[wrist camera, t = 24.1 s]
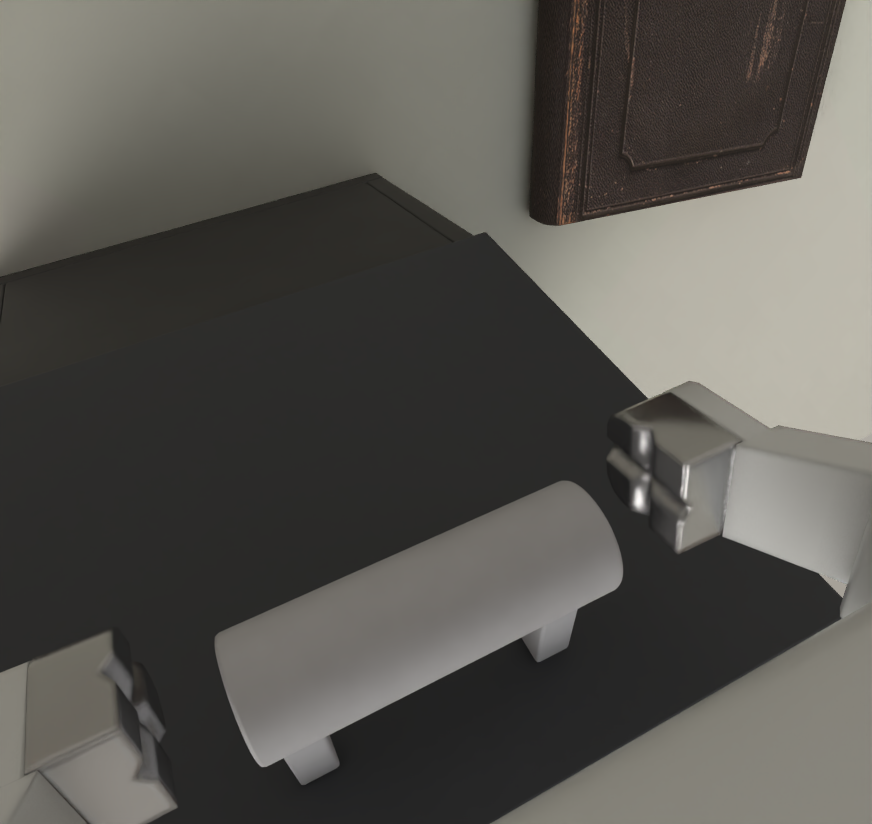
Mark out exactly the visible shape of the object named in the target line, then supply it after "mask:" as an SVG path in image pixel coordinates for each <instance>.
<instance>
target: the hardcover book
mask: <svg viewBox="0 0 872 824" xmlns="http://www.w3.org/2000/svg"><path fill="white" fill-rule="evenodd" d="M845 2H846V0H539V6H538V29H537V53H536V76H535V99H534V123H533V146H532V169H531V193H530V217H531V218H533V219H534V220H536V221H538V222H540V223H542V224H545V225H554V226H560V225H565V224H570V223H575V222H580V221H585V220H590V219H595V218H600V217H605V216H610V215H615V214H620V213H625V212H631V211H636V210H641V209H646V208H651V207H656V206H661V205H666V204H671V203H676V202H681V201H686V200H691V199H696V198H701V197H706V196H711V195H716V194H721V193H726V192H731V191H736V190H741V189H746V188H752V187H757V186H762V185H767V184H772V183H777V182H782V181H787V180H792V179H797V178H801V176H802V172H803V168H804V164H805V160H806V156H807V152H808V148H809V144H810V141H811V137H812V133H813V129H814V125H815V121H816V117H817V113H818V109H819V105H820V101H821V97H822V93H823V89H824V85H825V81H826V77H827V73H828V69H829V66H830V62H831V58H832V54H833V50H834V46H835V42H836V38H837V34H838V30H839V26H840V22H841V18H842V14H843V10H844V6H845Z"/></svg>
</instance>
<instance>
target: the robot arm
mask: <svg viewBox="0 0 872 824" xmlns="http://www.w3.org/2000/svg"><path fill="white" fill-rule="evenodd" d="M607 437H608V438H609V439H610V440H611V441H612V442H613V443H614V445H613V447H612V449H611V451H610V452H609V454H608V456H607V458H606V462H607V476H608V478H609V481H610V484H611V486H612V489H613V491H614V492H615V494H616V495H617V497H618V498H619V499H620V501H621V502H622V503H623V504H624V505H625V506H626V507H627V508H628V509H630V510H631V511H634V512H638V513H641V514H645V515H648V523H649V528H650V529H651V530H652V531H653V532H654V533H655V534H656V535H657V536H658V537H659V538H660V539H662V540H663V541H664V542H665V543H666V544H667V545H668V546H669V547H670V548H671V549H672V550H673V551H674V552H676V553H677V554H680V553H682V552H684V551H686V550H689V549H691V548H693V547H695V546H697V545H699V544H701V543H703V542H706V541H708V540H710V539H712V538H714V537H716V536H718V535H721V534H723V536H722V537H725V538H728V539H730V540H733V541H736V542H738V543H741V544H743V545H746V546H749V547H751V548H754V549H756V550H759V551H762V552H764V553H767V554H769V555H772V556H775V557H777V558H780V559H782V560H785V561H788V562H790V563H793V564H795V565H798V566H801V567H803V568H806V569H808V570H811V571H814V572H816V573H819V574H822V575H824V576H827V577H830V578H832V579H835V580H837V581H840V582H842V583H845V584H847V587H846V590H845V593H844V596H843V599H842V602H841V605H840V617H841V618H842V619H840V620H839V621H837V622H835V623H833V624H832V625H830V626H828V627H827V628H825V629H823V630H821V631H820V632H818V633H816V634H815V635H813V636H811V637H809V638H808V639H806V640H804V641H803V642H801V643H799V644H797V645H796V646H794V647H792V648H791V649H789V650H787V651H785V652H784V653H782V654H780V655H779V656H777V657H775V658H773V659H772V660H770V661H768V662H766V663H765V664H763V665H761V666H760V667H758V668H756V669H754V670H753V671H751V672H749V673H748V674H746V675H744V676H742V677H741V678H739V679H737V680H736V681H734V682H732V683H730V684H729V685H727V686H725V687H724V688H722V689H720V690H718V691H717V692H715V693H713V694H712V695H710V696H708V697H706V698H705V699H703V700H701V701H700V702H698V703H696V704H694V705H693V706H691V707H689V708H687V709H686V710H684V711H682V712H681V713H679V714H677V715H675V716H674V717H672V718H670V719H669V720H667V721H665V722H663V723H662V724H660V725H658V726H657V727H655V728H653V729H651V730H650V731H648V732H646V733H645V734H643V735H641V736H639V737H638V738H636V739H634V740H633V741H631V742H629V743H627V744H626V745H624V746H622V747H621V748H619V749H617V750H615V751H614V752H612V753H610V754H609V755H607V756H605V757H603V758H602V759H600V760H598V761H597V762H595V763H593V764H591V765H590V766H588V767H586V768H585V769H583V770H581V771H579V772H578V773H576V774H574V775H573V776H571V777H569V778H567V779H566V780H564V781H562V782H561V783H559V784H557V785H555V786H554V787H552V788H550V789H549V790H547V791H545V792H543V793H542V794H540V795H538V796H537V797H535V798H533V799H531V800H530V801H528V802H526V803H525V804H523V805H521V806H519V807H518V808H516V809H514V810H513V811H511V812H509V813H507V814H506V815H504V816H502V817H501V818H499V819H497V820H495V821H494V822H492V823H490V824H872V443H870V442H865V441H859V440H854V439H849V438H843V437H838V436H832V435H827V434H822V433H816V432H811V431H805V430H800V429H795V428H789V427H784V426H779V425H778V426H776V427H774V428H771V429H770V428H769V427H767V426H766V425H764V424H762V423H761V422H759V421H758V420H756V419H755V418H753V417H752V416H750V415H748V414H747V413H745V412H744V411H742V410H741V409H739V408H737V407H736V406H734V405H733V404H731V403H730V402H728V401H726V400H725V399H723V398H722V397H720V396H719V395H717V394H715V393H714V392H712V391H711V390H709V389H708V388H706V387H705V386H703V385H701V384H700V383H697V382H692V381H688V382H686V383H683V384H681V385H679V386H677V387H674V388H672V389H670V390H667V391H665V392H663V393H662V394H659V395H656V396H654V397H652V398H650V399H647V400H645V401H643V402H640V403H638V404H636V405H633V406H631V407H629V408H627V409H624V410H622V411H620V412H617V413H615V414H613V415H611V416H610V419H609V421H608V423H607ZM165 732H166V726H165V720H164V714H163V709H162V706H161V703H160V699H159V696H158V693H157V690H156V687H155V685H154V683H153V681H152V679H151V677H150V675H149V673H148V671H147V670H146V668H145V667H144V665H143V664H142V663H139V662H135V661H132V660H131V653H130V645H129V642H128V641H127V639H126V638H125V636H124V635H123V633H122V632H121V631H120V629H119V628H117V627H111V628H109V629H106V630H104V631H101V632H99V633H96V634H94V635H91V636H89V637H86V638H84V639H81V640H79V641H76V642H74V643H71V644H69V645H66V646H64V647H61V648H59V649H56V650H54V651H51V652H49V653H46V654H44V655H41V656H39V657H36V658H33V659H32V660H31V661H29V662H26V663H24V664H21V665H18V666H16V667H13V668H11V669H8V670H6V671H3V672H1V673H0V824H148V823H149V822H151V821H153V820H155V819H157V818H159V817H161V816H162V815H164V814H166V813H168V812H170V811H172V810H174V809H176V808H177V807H178V806H177V799H176V792H175V785H174V778H173V772H172V765H171V760H170V758H169V757H168V755H167V754H166V752H165V751H164V749H163V748H162V746H161V745H160V742H161V740H162V738H163V736H164V734H165Z"/></svg>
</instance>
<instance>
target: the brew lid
mask: <svg viewBox="0 0 872 824" xmlns="http://www.w3.org/2000/svg"><path fill="white" fill-rule="evenodd" d="M647 399H648V398H647V397H646V396H645V395H644V394H643V393H642V392H641V391H640V390H639V389H638V388H637V387H636V386H635V385H634V384H633V383H632V382H631V381H630V380H629V379H628V378H627V377H626V376H625V375H624V374H623V373H622V372H621V371H620V370H619V369H618V367H617V366H616V365H615V364H614V363H613V362H612V361H611V360H610V359H609V358H608V357H607V356H606V355H605V354H604V353H603V352H602V351H601V350H600V349H599V348H598V347H597V346H596V345H595V344H594V343H593V342H592V341H591V340H590V339H589V338H588V337H587V336H586V335H585V334H584V333H583V332H582V331H581V330H580V329H579V328H578V326H577V325H576V324H575V323H574V322H573V321H572V320H571V319H570V318H569V317H568V316H567V315H566V314H565V313H564V312H563V311H562V310H561V309H560V308H559V307H558V306H557V305H556V304H555V303H554V302H553V301H552V300H551V299H550V298H549V297H548V296H547V295H546V294H545V293H544V292H543V291H542V290H541V289H540V288H539V286H538V285H537V284H536V283H535V282H534V281H533V280H532V279H531V278H530V277H529V276H528V275H527V274H526V273H525V272H524V271H523V270H522V269H521V268H520V267H519V266H518V265H517V264H516V263H515V262H514V261H513V260H512V259H511V258H510V257H509V256H508V255H507V254H506V253H505V252H504V251H503V250H502V249H501V248H500V246H499V245H498V244H497V243H496V242H495V241H494V240H493V239H492V238H491V237H490V236H489V235H488V234H487V233H481V234H478V235H475V236H471V237H468V238H465V239H462V240H459V241H456V242H453V243H449V244H446V245H443V246H440V247H437V248H434V249H431V250H427V251H424V252H421V253H418V254H415V255H412V256H409V257H405V258H402V259H399V260H396V261H393V262H390V263H387V264H383V265H380V266H377V267H374V268H371V269H368V270H365V271H361V272H358V273H355V274H352V275H349V276H346V277H343V278H339V279H336V280H333V281H330V282H327V283H324V284H321V285H317V286H314V287H311V288H308V289H305V290H302V291H299V292H295V293H292V294H289V295H286V296H283V297H280V298H277V299H273V300H270V301H267V302H264V303H261V304H258V305H255V306H251V307H248V308H245V309H242V310H239V311H236V312H233V313H229V314H226V315H223V316H220V317H217V318H214V319H211V320H207V321H204V322H201V323H198V324H195V325H192V326H189V327H185V328H182V329H179V330H176V331H173V332H170V333H167V334H163V335H160V336H157V337H154V338H151V339H148V340H145V341H141V342H138V343H135V344H132V345H129V346H126V347H123V348H119V349H116V350H113V351H110V352H107V353H104V354H101V355H97V356H94V357H91V358H88V359H85V360H82V361H79V362H75V363H72V364H69V365H66V366H63V367H60V368H57V369H53V370H50V371H47V372H44V373H41V374H38V375H35V376H31V377H28V378H25V379H22V380H19V381H16V382H13V383H9V384H6V385H3V386H0V673H1V672H3V671H6V670H8V669H11V668H13V667H16V666H18V665H21V664H24V663H26V662H29V661H31V660H32V659H33V658H36V657H39V656H41V655H44V654H46V653H49V652H51V651H54V650H56V649H59V648H61V647H64V646H66V645H69V644H71V643H74V642H76V641H79V640H81V639H84V638H86V637H89V636H91V635H94V634H96V633H99V632H101V631H104V630H106V629H109V628H111V627H117V628H119V629H120V631H121V632H122V633H123V635H124V636H125V638H126V639H127V641H128V642H129V645H130V653H131V660H132V661H135V662H139V663H142V664H143V665H144V667H145V668H146V670H147V671H148V673H149V675H150V677H151V679H152V681H153V683H154V685H155V687H156V690H157V693H158V696H159V699H160V703H161V706H162V709H163V714H164V720H165V726H166V732H165V734H164V736H163V738H162V740H161V742H160V745H161V746H162V748H163V749H164V751H165V752H166V754H167V755H168V757H169V758H170V760H171V765H172V772H173V778H174V785H175V792H176V799H177V806H178V807H177V808H176V809H174V810H172V811H170V812H168V813H166V814H164V815H162V816H161V817H159V818H157V819H155V820H153V821H151V822H149V823H148V824H490V823H492V822H494V821H495V820H497V819H499V818H501V817H502V816H504V815H506V814H507V813H509V812H511V811H513V810H514V809H516V808H518V807H519V806H521V805H523V804H525V803H526V802H528V801H530V800H531V799H533V798H535V797H537V796H538V795H540V794H542V793H543V792H545V791H547V790H549V789H550V788H552V787H554V786H555V785H557V784H559V783H561V782H562V781H564V780H566V779H567V778H569V777H571V776H573V775H574V774H576V773H578V772H579V771H581V770H583V769H585V768H586V767H588V766H590V765H591V764H593V763H595V762H597V761H598V760H600V759H602V758H603V757H605V756H607V755H609V754H610V753H612V752H614V751H615V750H617V749H619V748H621V747H622V746H624V745H626V744H627V743H629V742H631V741H633V740H634V739H636V738H638V737H639V736H641V735H643V734H645V733H646V732H648V731H650V730H651V729H653V728H655V727H657V726H658V725H660V724H662V723H663V722H665V721H667V720H669V719H670V718H672V717H674V716H675V715H677V714H679V713H681V712H682V711H684V710H686V709H687V708H689V707H691V706H693V705H694V704H696V703H698V702H700V701H701V700H703V699H705V698H706V697H708V696H710V695H712V694H713V693H715V692H717V691H718V690H720V689H722V688H724V687H725V686H727V685H729V684H730V683H732V682H734V681H736V680H737V679H739V678H741V677H742V676H744V675H746V674H748V673H749V672H751V671H753V670H754V669H756V668H758V667H760V666H761V665H763V664H765V663H766V662H768V661H770V660H772V659H773V658H775V657H777V656H779V655H780V654H782V653H784V652H785V651H787V650H789V649H791V648H792V647H794V646H796V645H797V644H799V643H801V642H803V641H804V640H806V639H808V638H809V637H811V636H813V635H815V634H816V633H818V632H820V631H821V630H823V629H825V628H827V627H828V626H830V625H832V624H833V623H835V622H837V621H839V620H840V619H842V618H841V617H840V605H841V602H842V599H843V598H842V597H841V596H840V595H839V594H838V593H837V592H836V591H835V590H834V589H833V588H832V587H831V586H830V585H829V584H828V583H827V582H826V581H825V580H824V579H823V578H822V577H821V576H820V575H819V574H818V573H816V572H814V571H811V570H808V569H806V568H803V567H801V566H798V565H795V564H793V563H790V562H788V561H785V560H782V559H780V558H777V557H775V556H772V555H769V554H767V553H764V552H762V551H759V550H756V549H754V548H751V547H749V546H746V545H743V544H741V543H738V542H736V541H733V540H730V539H728V538H725V537H722V536H723V534H721V535H718V536H716V537H714V538H712V539H710V540H708V541H706V542H703V543H701V544H699V545H697V546H695V547H693V548H691V549H689V550H686V551H684V552H682V553H680V554H677V553H676V552H674V551H673V550H672V549H671V548H670V547H669V546H668V545H667V544H666V543H665V542H664V541H663V540H662V539H660V538H659V537H658V536H657V535H656V534H655V533H654V532H653V531H652V530H651V529H650V528H649V523H648V515H645V514H641V513H638V512H634V511H631V510H630V509H628V508H627V507H626V506H625V505H624V504H623V503H622V502H621V501H620V499H619V498H618V497H617V495H616V494H615V492H614V491H613V489H612V486H611V484H610V481H609V478H608V476H607V462H606V458H607V456H608V454H609V452H610V451H611V449H612V447H613V445H614V443H613V442H612V441H611V440H610V439H609V438H608V437H607V423H608V421H609V419H610V416H611V415H613V414H615V413H617V412H620V411H622V410H624V409H627V408H629V407H631V406H633V405H636V404H638V403H640V402H643V401H645V400H647Z"/></svg>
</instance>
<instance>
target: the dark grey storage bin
mask: <svg viewBox="0 0 872 824" xmlns="http://www.w3.org/2000/svg"><path fill="white" fill-rule="evenodd" d="M471 236H473V235H472V234H470V233H469V232H467V231H466V230H464V229H462V228H461V227H459V226H458V225H456V224H455V223H453V222H451V221H450V220H448V219H447V218H445V217H444V216H442V215H441V214H439V213H437V212H436V211H434V210H433V209H431V208H430V207H428V206H426V205H425V204H423V203H422V202H420V201H419V200H417V199H415V198H414V197H412V196H411V195H409V194H408V193H406V192H405V191H403V190H401V189H400V188H398V187H397V186H395V185H394V184H392V183H390V182H389V181H387V180H386V179H384V178H382V176H380V175H378V174H377V173H373V174H370V175H366V176H363V177H359V178H355V179H352V180H348V181H345V182H341V183H337V184H334V185H330V186H327V187H323V188H319V189H316V190H312V191H309V192H305V193H301V194H298V195H294V196H291V197H287V198H283V199H280V200H276V201H273V202H269V203H265V204H262V205H258V206H255V207H251V208H247V209H244V210H240V211H237V212H233V213H229V214H226V215H222V216H219V217H215V218H211V219H208V220H204V221H201V222H197V223H193V224H190V225H186V226H183V227H179V228H175V229H172V230H168V231H165V232H161V233H157V234H154V235H150V236H147V237H143V238H139V239H136V240H132V241H129V242H125V243H122V244H118V245H114V246H111V247H107V248H104V249H100V250H96V251H93V252H89V253H86V254H82V255H78V256H75V257H71V258H68V259H64V260H60V261H57V262H53V263H50V264H46V265H42V266H39V267H35V268H32V269H28V270H24V271H21V272H17V273H14V274H10V275H6V276H3V277H0V386H3V385H6V384H9V383H13V382H16V381H19V380H22V379H25V378H28V377H31V376H35V375H38V374H41V373H44V372H47V371H50V370H53V369H57V368H60V367H63V366H66V365H69V364H72V363H75V362H79V361H82V360H85V359H88V358H91V357H94V356H97V355H101V354H104V353H107V352H110V351H113V350H116V349H119V348H123V347H126V346H129V345H132V344H135V343H138V342H141V341H145V340H148V339H151V338H154V337H157V336H160V335H163V334H167V333H170V332H173V331H176V330H179V329H182V328H185V327H189V326H192V325H195V324H198V323H201V322H204V321H207V320H211V319H214V318H217V317H220V316H223V315H226V314H229V313H233V312H236V311H239V310H242V309H245V308H248V307H251V306H255V305H258V304H261V303H264V302H267V301H270V300H273V299H277V298H280V297H283V296H286V295H289V294H292V293H295V292H299V291H302V290H305V289H308V288H311V287H314V286H317V285H321V284H324V283H327V282H330V281H333V280H336V279H339V278H343V277H346V276H349V275H352V274H355V273H358V272H361V271H365V270H368V269H371V268H374V267H377V266H380V265H383V264H387V263H390V262H393V261H396V260H399V259H402V258H405V257H409V256H412V255H415V254H418V253H421V252H424V251H427V250H431V249H434V248H437V247H440V246H443V245H446V244H449V243H453V242H456V241H459V240H462V239H465V238H468V237H471Z"/></svg>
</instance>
